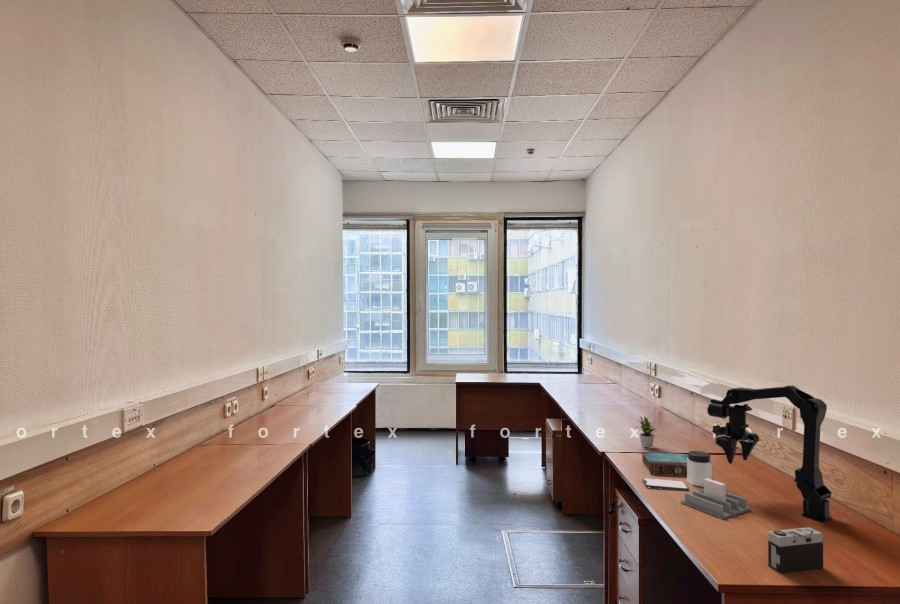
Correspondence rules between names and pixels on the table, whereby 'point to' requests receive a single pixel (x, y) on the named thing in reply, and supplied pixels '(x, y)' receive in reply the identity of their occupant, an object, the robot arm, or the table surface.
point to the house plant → (646, 433)
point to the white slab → (715, 489)
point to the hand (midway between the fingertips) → (737, 461)
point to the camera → (795, 549)
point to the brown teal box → (665, 463)
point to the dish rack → (717, 504)
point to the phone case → (665, 484)
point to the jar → (698, 467)
